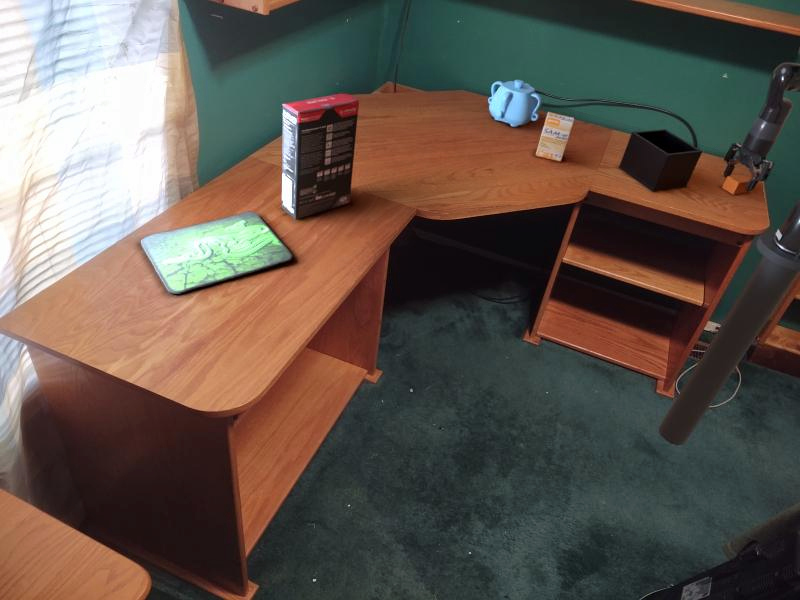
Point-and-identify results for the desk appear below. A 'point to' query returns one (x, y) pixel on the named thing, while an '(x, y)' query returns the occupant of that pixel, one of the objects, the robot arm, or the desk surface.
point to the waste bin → (659, 159)
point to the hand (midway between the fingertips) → (736, 183)
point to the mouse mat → (213, 251)
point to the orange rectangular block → (736, 184)
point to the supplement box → (554, 136)
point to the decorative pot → (514, 102)
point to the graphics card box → (318, 153)
